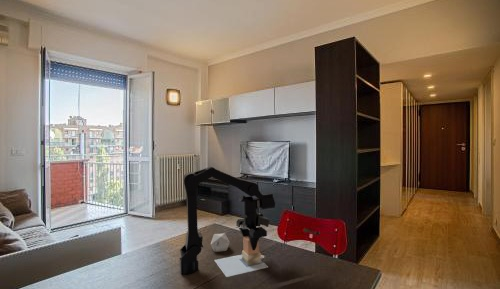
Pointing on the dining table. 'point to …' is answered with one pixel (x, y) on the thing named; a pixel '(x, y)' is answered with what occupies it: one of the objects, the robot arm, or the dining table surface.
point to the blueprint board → (237, 265)
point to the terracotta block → (249, 246)
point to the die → (220, 242)
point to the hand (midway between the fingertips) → (251, 247)
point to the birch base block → (251, 258)
